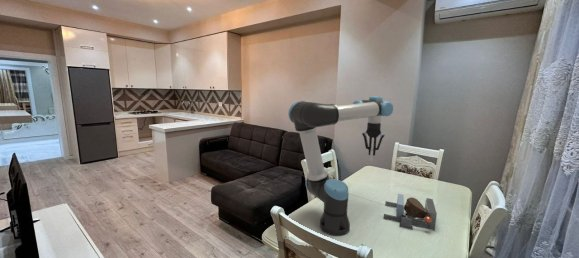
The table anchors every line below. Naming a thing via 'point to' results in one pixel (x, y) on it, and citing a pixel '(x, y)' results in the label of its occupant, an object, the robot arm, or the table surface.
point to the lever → (426, 219)
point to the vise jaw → (400, 205)
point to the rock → (415, 208)
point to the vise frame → (409, 222)
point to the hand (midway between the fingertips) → (371, 160)
